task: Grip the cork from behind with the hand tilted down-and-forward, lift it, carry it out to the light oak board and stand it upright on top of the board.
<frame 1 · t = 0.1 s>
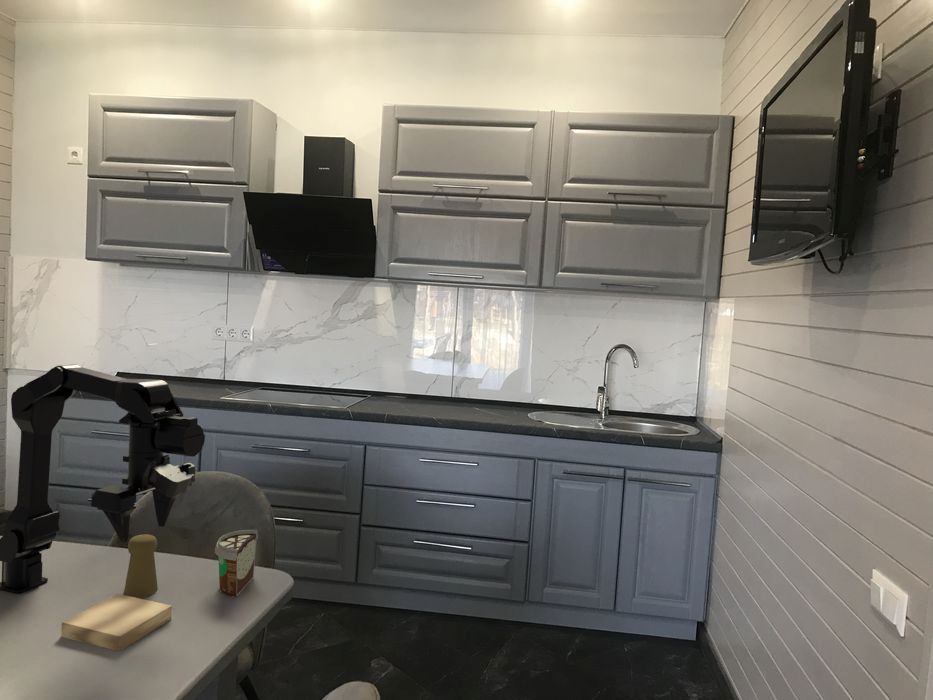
hand: (143, 533, 119), 15 cm above the table, tool pointing down, fingers open, 9 cm apart
food container: (230, 586, 133), on the table
cork: (140, 592, 128), on the table
oak board: (118, 627, 114), on the table
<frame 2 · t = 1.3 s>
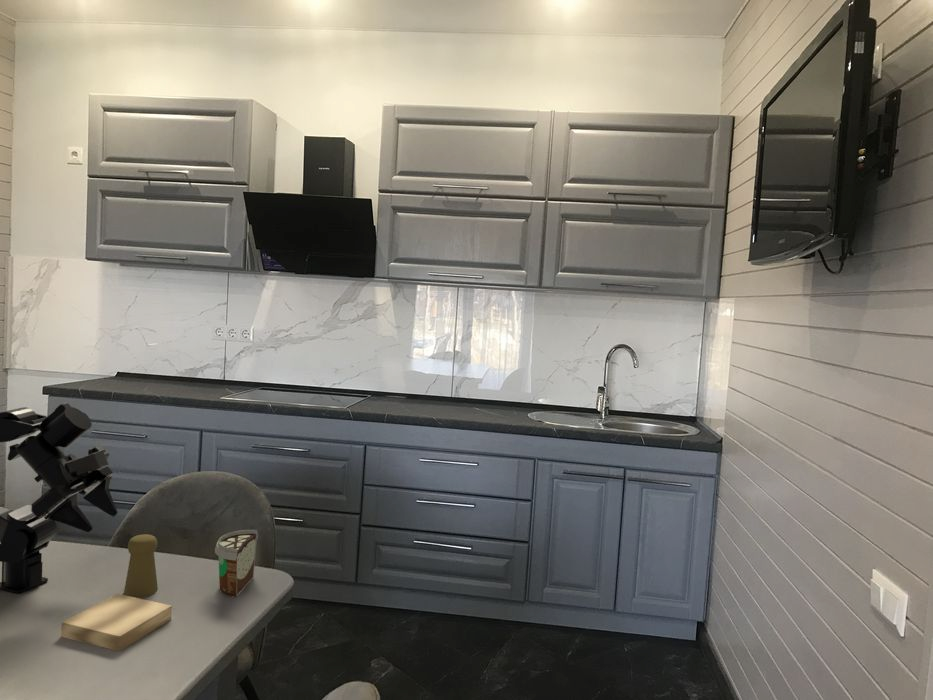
hand: (103, 522, 127), 13 cm above the table, tool tilted 45°, fingers open, 9 cm apart
nothing on the table moved.
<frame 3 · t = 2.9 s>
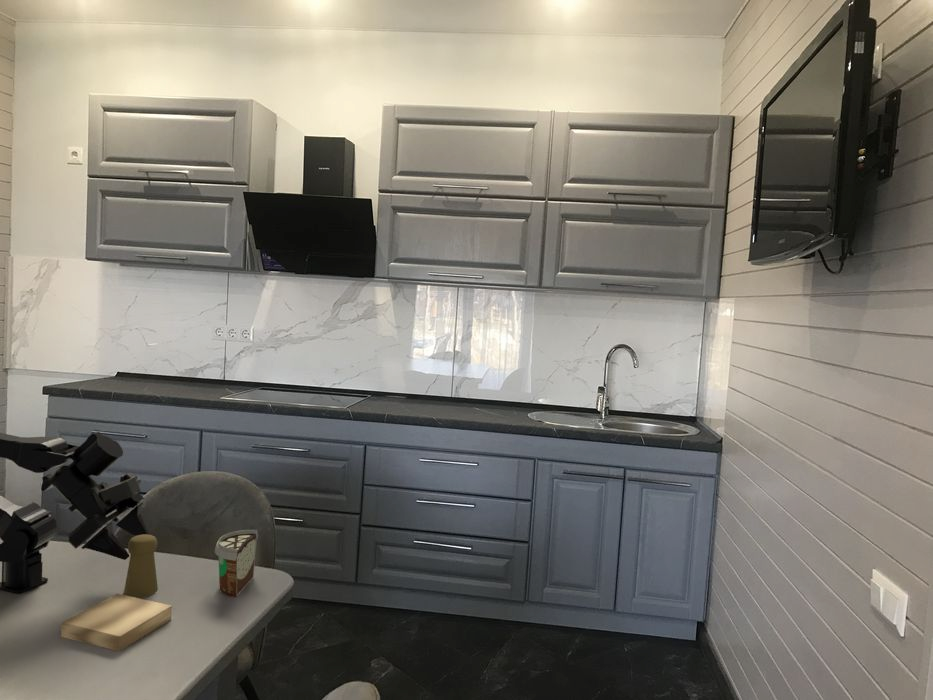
hand: (138, 549, 128), 8 cm above the table, tool tilted 45°, fingers open, 9 cm apart
nothing on the table moved.
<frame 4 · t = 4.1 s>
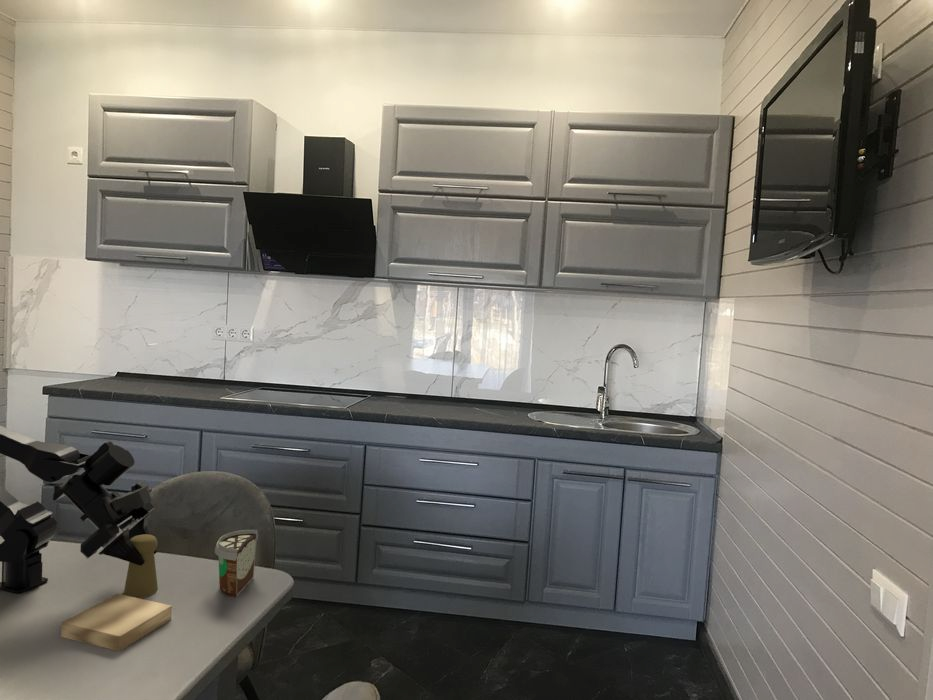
hand: (149, 558, 128), 7 cm above the table, tool tilted 45°, fingers closed on cork, 5 cm apart
cork: (140, 591, 128), on the table, touching gripper
everything else where it was.
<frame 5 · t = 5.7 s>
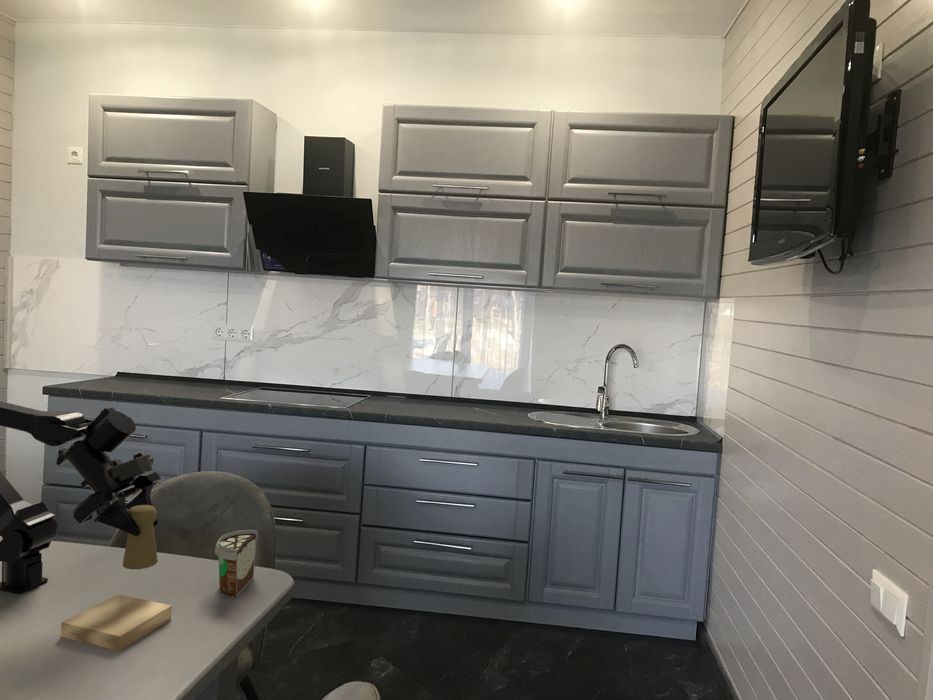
hand: (147, 529, 124), 14 cm above the table, tool tilted 45°, fingers closed on cork, 5 cm apart
cork: (140, 563, 124), point 7 cm above the table, touching gripper
everything else where it was.
when the fingers open (10 cm above the table, at t = 7.6 s): cork stays where it is, resting on oak board.
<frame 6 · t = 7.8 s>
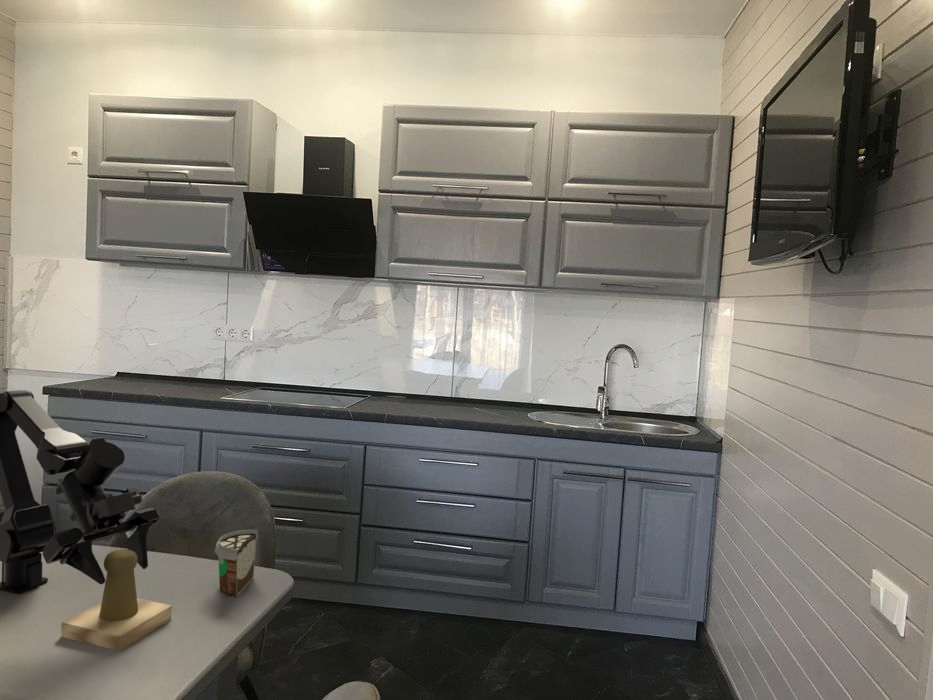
hand: (125, 575, 113), 10 cm above the table, tool tilted 45°, fingers open, 8 cm apart
cork: (119, 614, 114), point 2 cm above the table, touching oak board
everything else where it was.
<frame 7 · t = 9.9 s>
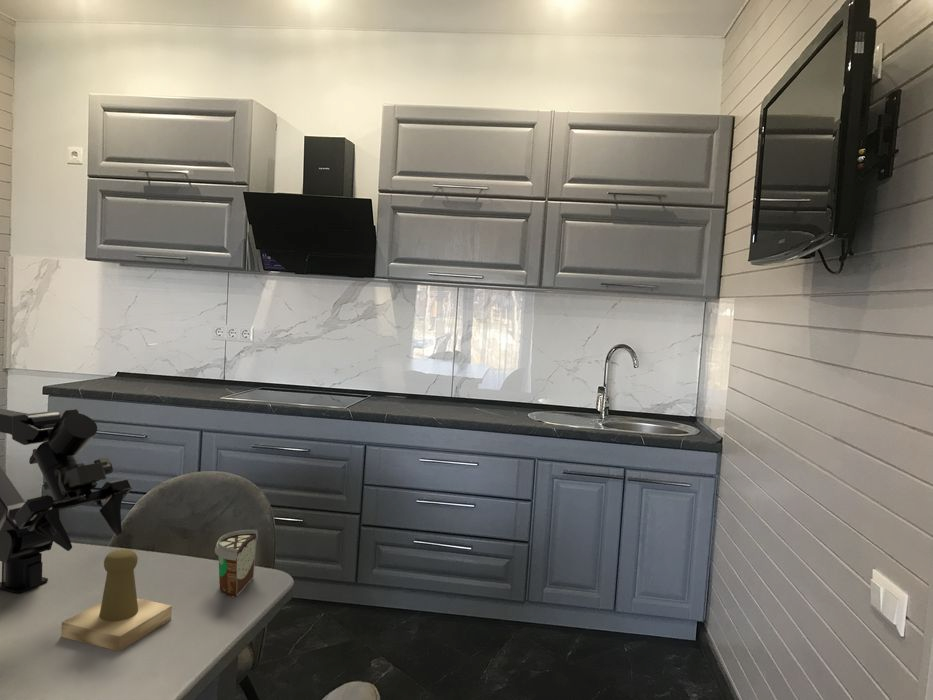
hand: (95, 541, 117), 14 cm above the table, tool tilted 45°, fingers open, 9 cm apart
nothing on the table moved.
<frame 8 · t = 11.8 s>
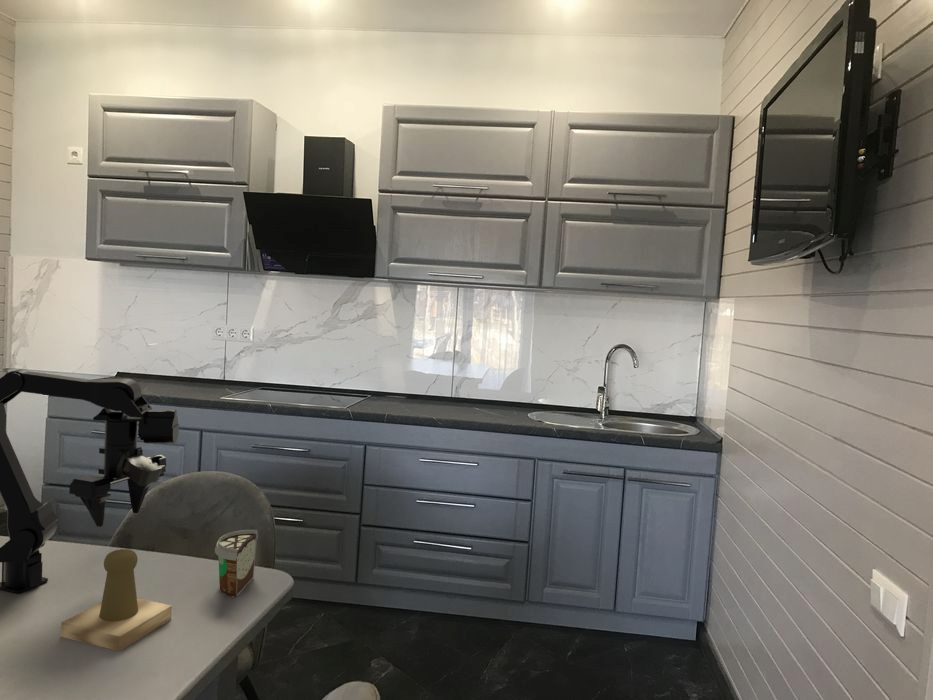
hand: (118, 519, 130), 13 cm above the table, tool pointing down, fingers open, 9 cm apart
nothing on the table moved.
at the end: cork inside the target area on the oak board (0.2 cm from its centre), point 2.3 cm above the oak board's base; cork touching oak board; cork tilted 0° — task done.
